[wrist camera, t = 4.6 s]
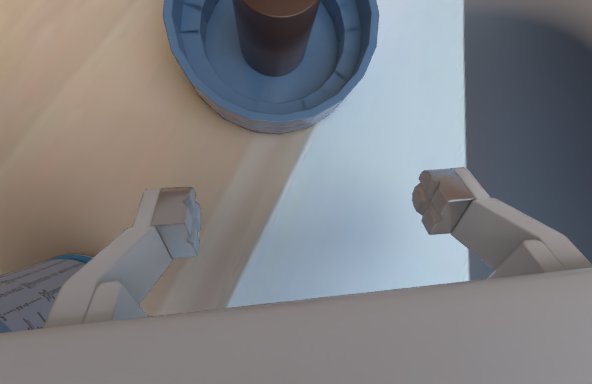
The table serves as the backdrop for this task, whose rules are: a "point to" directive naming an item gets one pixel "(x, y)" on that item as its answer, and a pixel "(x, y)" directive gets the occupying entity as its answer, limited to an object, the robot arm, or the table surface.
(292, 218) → the table surface
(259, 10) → the pot
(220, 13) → the bowl
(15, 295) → the beverage bottle
